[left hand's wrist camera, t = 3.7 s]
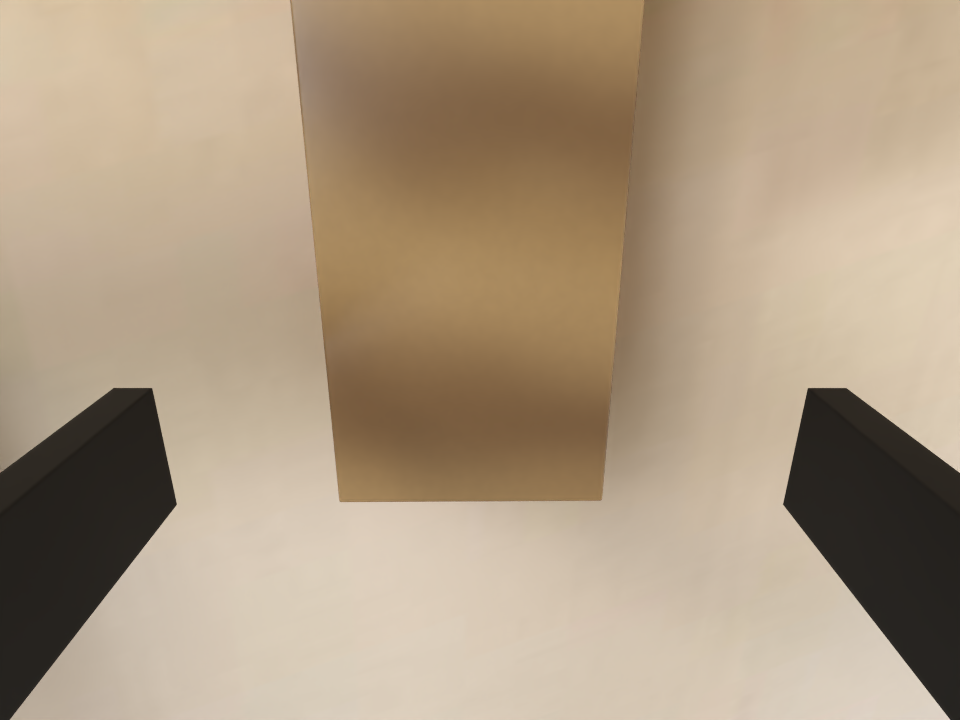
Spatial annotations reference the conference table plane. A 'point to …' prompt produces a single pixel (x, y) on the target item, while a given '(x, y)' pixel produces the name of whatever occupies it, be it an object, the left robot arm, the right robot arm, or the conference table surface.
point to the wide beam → (468, 238)
